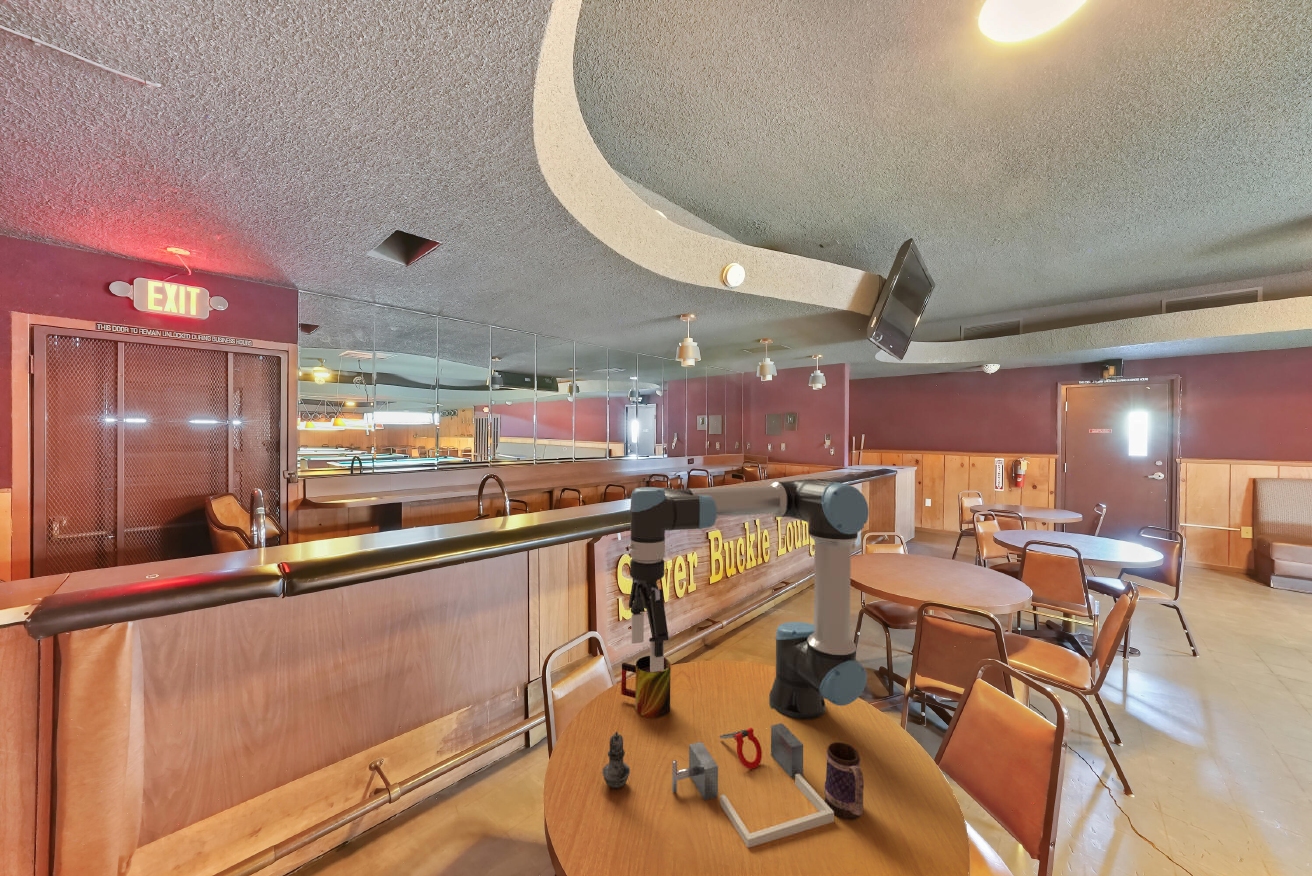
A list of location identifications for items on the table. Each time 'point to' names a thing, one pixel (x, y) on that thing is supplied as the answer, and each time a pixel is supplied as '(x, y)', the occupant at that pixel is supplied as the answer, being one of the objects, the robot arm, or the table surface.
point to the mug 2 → (844, 781)
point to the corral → (788, 827)
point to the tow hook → (739, 738)
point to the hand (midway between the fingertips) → (646, 655)
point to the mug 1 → (649, 687)
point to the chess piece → (616, 763)
